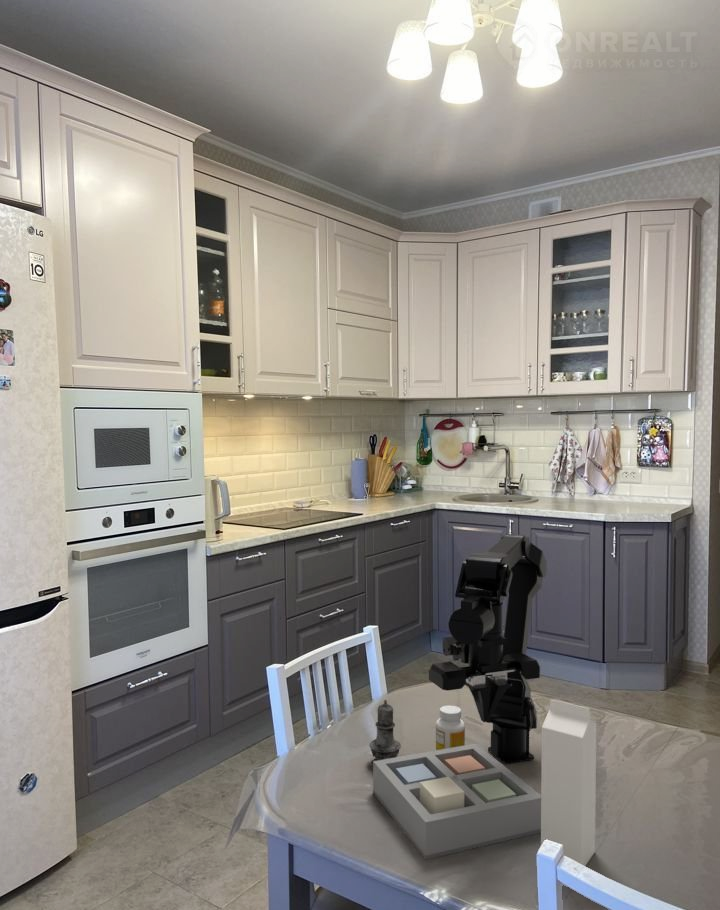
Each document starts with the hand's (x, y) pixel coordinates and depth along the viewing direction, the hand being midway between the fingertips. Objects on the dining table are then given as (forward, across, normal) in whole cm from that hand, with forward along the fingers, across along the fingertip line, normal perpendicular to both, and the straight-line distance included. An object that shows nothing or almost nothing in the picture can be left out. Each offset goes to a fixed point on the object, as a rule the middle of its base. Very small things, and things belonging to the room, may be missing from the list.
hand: (484, 721), depth 116 cm
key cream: (+10, +12, +8) cm, 17 cm away
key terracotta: (+12, +3, -2) cm, 12 cm away
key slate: (+12, +12, -2) cm, 17 cm away
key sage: (+12, +3, +8) cm, 14 cm away
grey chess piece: (+13, +11, -16) cm, 23 cm away
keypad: (+12, +8, +3) cm, 15 cm away
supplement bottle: (+13, -1, -13) cm, 18 cm away
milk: (+13, -2, +19) cm, 23 cm away
